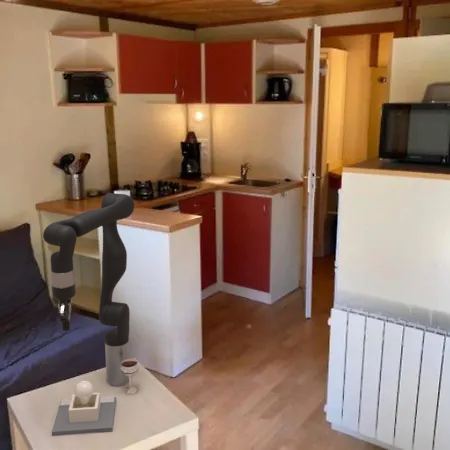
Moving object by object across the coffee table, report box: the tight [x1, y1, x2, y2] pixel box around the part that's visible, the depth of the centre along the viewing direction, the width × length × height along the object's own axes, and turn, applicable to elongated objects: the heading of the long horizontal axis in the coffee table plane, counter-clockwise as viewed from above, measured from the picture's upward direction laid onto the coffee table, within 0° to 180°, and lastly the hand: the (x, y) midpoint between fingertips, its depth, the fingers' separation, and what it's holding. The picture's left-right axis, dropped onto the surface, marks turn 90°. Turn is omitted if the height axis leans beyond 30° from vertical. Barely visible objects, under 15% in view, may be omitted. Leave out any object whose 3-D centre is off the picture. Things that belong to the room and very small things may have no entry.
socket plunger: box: [76, 403, 95, 408], centre depth 183 cm, size 7×7×2 cm
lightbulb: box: [74, 380, 95, 408], centre depth 182 cm, size 6×6×11 cm
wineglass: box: [120, 357, 139, 395], centre depth 198 cm, size 7×7×12 cm
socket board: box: [51, 392, 117, 436], centre depth 183 cm, size 18×20×6 cm
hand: (66, 329), depth 177 cm, fingers closed
